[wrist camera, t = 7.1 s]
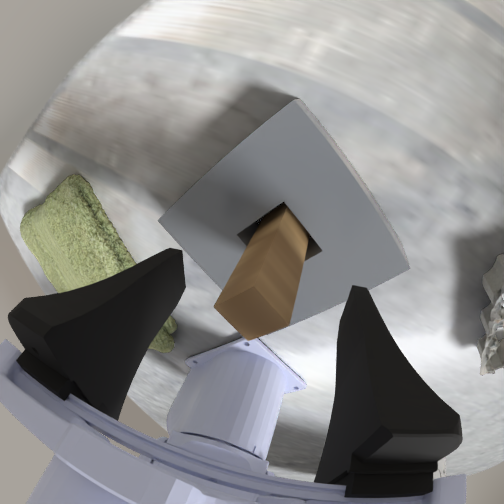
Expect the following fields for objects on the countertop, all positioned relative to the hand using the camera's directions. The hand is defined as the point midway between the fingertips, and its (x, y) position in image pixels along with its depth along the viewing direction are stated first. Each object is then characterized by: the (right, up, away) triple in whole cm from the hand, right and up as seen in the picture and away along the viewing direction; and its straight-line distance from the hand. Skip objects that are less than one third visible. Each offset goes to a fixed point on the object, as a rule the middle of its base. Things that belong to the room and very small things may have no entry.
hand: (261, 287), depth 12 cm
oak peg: (+2, +3, +5) cm, 6 cm away
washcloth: (-15, 0, +13) cm, 20 cm away
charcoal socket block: (+2, +3, +5) cm, 6 cm away
